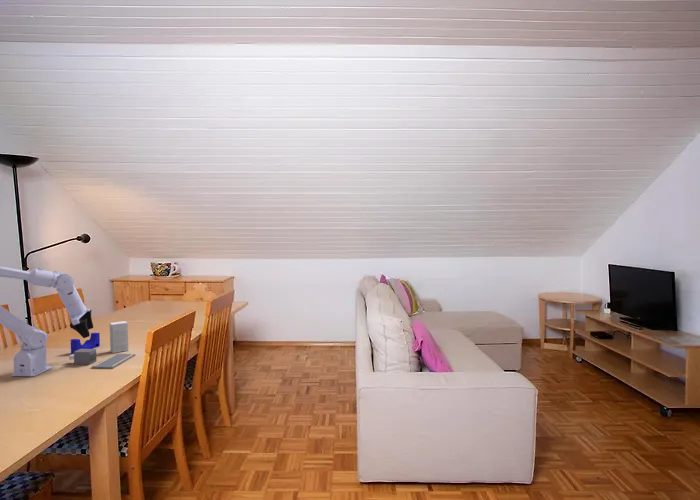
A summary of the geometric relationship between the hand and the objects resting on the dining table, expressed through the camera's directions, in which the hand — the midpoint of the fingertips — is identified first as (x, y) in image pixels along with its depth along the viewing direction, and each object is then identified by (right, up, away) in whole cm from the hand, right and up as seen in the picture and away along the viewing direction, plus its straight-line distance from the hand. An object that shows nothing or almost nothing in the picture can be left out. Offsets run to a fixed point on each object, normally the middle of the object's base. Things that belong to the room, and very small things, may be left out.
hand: (88, 332), depth 165 cm
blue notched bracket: (-10, -10, +14) cm, 20 cm away
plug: (0, -11, -3) cm, 11 cm away
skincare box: (+5, -10, +13) cm, 17 cm away
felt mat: (+11, -11, -1) cm, 15 cm away
